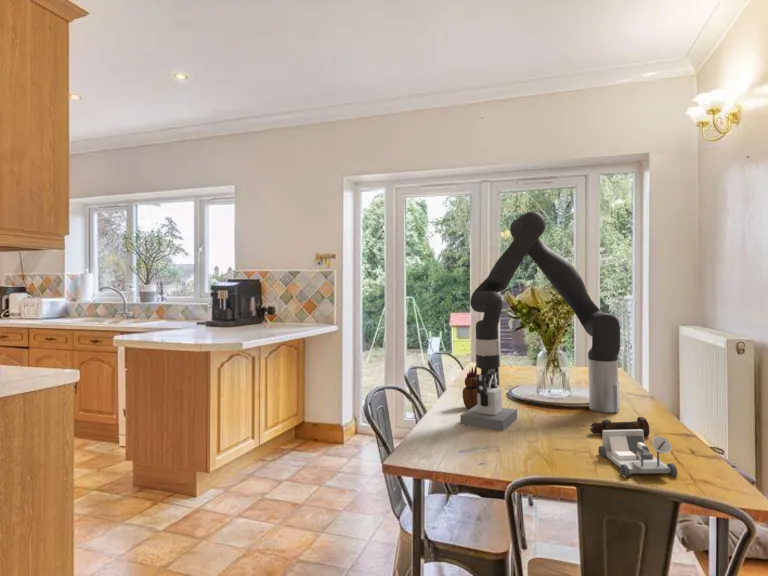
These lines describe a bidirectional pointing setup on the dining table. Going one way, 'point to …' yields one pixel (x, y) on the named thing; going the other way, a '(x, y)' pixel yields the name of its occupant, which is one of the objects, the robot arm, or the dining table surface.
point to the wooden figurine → (470, 389)
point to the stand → (489, 418)
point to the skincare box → (491, 402)
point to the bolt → (621, 426)
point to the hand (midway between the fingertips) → (488, 402)
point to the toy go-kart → (635, 452)
